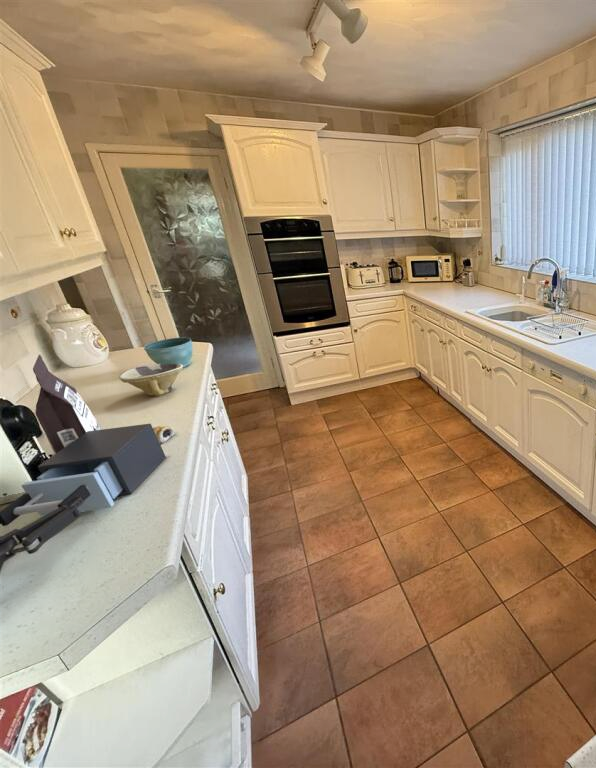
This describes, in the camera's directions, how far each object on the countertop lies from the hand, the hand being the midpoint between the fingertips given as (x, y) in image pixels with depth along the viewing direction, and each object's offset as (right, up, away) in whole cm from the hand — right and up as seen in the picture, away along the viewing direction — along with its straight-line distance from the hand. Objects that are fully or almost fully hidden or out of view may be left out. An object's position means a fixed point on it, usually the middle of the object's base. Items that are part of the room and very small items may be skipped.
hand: (57, 494), depth 83 cm
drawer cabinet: (-4, -1, +16) cm, 17 cm away
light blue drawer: (-1, -4, +8) cm, 9 cm away
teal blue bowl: (-53, +31, +91) cm, 110 cm away
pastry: (-10, +7, +34) cm, 36 cm away
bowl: (-37, +20, +66) cm, 78 cm away
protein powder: (-23, +3, +27) cm, 36 cm away
